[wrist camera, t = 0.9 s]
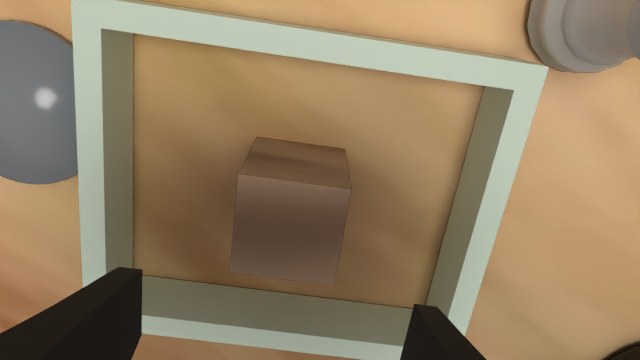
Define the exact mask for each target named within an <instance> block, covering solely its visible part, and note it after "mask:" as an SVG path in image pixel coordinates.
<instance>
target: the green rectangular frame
mask: <svg viewBox="0 0 640 360" xmlns="http://www.w3.org/2000/svg"><path fill="white" fill-rule="evenodd" d="M71 13H72V38H73V62H74V86H75V111H76V135H77V159H78V184H79V208H80V232H81V256H82V281H83V288H84V287H85V286H87V285H89V284H90V283H92V282H94V281H95V280H97V279H98V278H100V277H102V276H103V275H105V274H107V273H108V272H110V271H112V270H114V269H116V268H117V267H125V268H133V33H136V34H143V35H149V36H156V37H163V38H169V39H176V40H183V41H189V42H196V43H203V44H209V45H216V46H223V47H229V48H236V49H243V50H249V51H256V52H263V53H269V54H276V55H283V56H289V57H296V58H303V59H309V60H316V61H322V62H329V63H336V64H342V65H349V66H356V67H362V68H369V69H376V70H382V71H389V72H396V73H402V74H409V75H416V76H422V77H429V78H436V79H442V80H449V81H456V82H462V83H469V84H476V85H482V86H485V87H484V90H483V94H482V98H481V102H480V105H479V109H478V113H477V116H476V120H475V124H474V128H473V131H472V135H471V139H470V142H469V146H468V150H467V153H466V157H465V161H464V165H463V168H462V172H461V176H460V179H459V183H458V187H457V191H456V194H455V198H454V202H453V205H452V209H451V213H450V217H449V220H448V224H447V228H446V231H445V235H444V239H443V243H442V246H441V250H440V254H439V257H438V261H437V265H436V268H435V272H434V276H433V280H432V283H431V287H430V291H429V294H428V298H427V302H426V305H428V306H436V307H438V308H439V309H440V310H441V311H442V312H443V314H444V315H445V316H446V317H447V318H448V319H449V320H450V321H451V322H452V323H453V324H454V325H455V327H456V328H457V329H458V330H459V331H460V332H461V333H462V334H463V335H464V336H465V334H466V330H467V327H468V324H469V321H470V318H471V314H472V311H473V308H474V305H475V302H476V299H477V295H478V292H479V289H480V286H481V283H482V279H483V276H484V273H485V270H486V267H487V263H488V260H489V257H490V254H491V251H492V248H493V244H494V241H495V238H496V235H497V232H498V228H499V225H500V222H501V219H502V216H503V212H504V209H505V206H506V203H507V200H508V197H509V193H510V190H511V187H512V184H513V181H514V177H515V174H516V171H517V168H518V165H519V162H520V158H521V155H522V152H523V149H524V146H525V142H526V139H527V136H528V133H529V130H530V126H531V123H532V120H533V117H534V114H535V111H536V107H537V104H538V101H539V98H540V95H541V91H542V88H543V85H544V82H545V79H546V75H547V72H548V69H549V67H548V66H544V65H540V64H536V63H532V62H528V61H524V60H521V59H517V58H510V57H504V56H497V55H491V54H484V53H478V52H471V51H465V50H458V49H452V48H445V47H439V46H432V45H426V44H419V43H413V42H406V41H400V40H393V39H387V38H380V37H374V36H367V35H361V34H354V33H348V32H341V31H335V30H328V29H322V28H315V27H309V26H302V25H296V24H289V23H283V22H276V21H270V20H263V19H257V18H250V17H244V16H237V15H231V14H224V13H218V12H211V11H205V10H198V9H192V8H185V7H179V6H172V5H166V4H159V3H153V2H146V1H140V0H71ZM412 311H413V309H408V308H400V307H392V306H384V305H376V304H368V303H360V302H352V301H344V300H336V299H328V298H320V297H312V296H304V295H296V294H288V293H280V292H272V291H264V290H256V289H248V288H240V287H232V286H224V285H216V284H208V283H200V282H192V281H184V280H176V279H168V278H160V277H152V276H144V275H142V333H143V334H151V335H159V336H168V337H176V338H185V339H193V340H202V341H210V342H218V343H227V344H235V345H244V346H252V347H260V348H269V349H277V350H286V351H294V352H303V353H311V354H319V355H328V356H336V357H345V358H353V359H362V360H400V357H401V353H402V349H403V346H404V342H405V338H406V334H407V330H408V326H409V322H410V319H411V315H412Z"/></svg>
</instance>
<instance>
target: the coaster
mask: <svg viewBox="0 0 640 360" xmlns="http://www.w3.org/2000/svg"><path fill="white" fill-rule="evenodd" d="M77 173H78V159H77V135H76V111H75V86H74V62H73V44H72V43H71V42H69V41H68V40H67V39H65V38H64V37H62V36H61V35H59V34H57V33H56V32H54V31H52V30H50V29H47V28H45V27H42V26H40V25H37V24H33V23H29V22H24V21H13V20H9V21H0V176H2V177H5V178H7V179H10V180H13V181H17V182H22V183H27V184H50V183H56V182H59V181H62V180H66V179H68V178H70V177H72V176H74V175H76V174H77Z"/></svg>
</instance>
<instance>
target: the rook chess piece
mask: <svg viewBox="0 0 640 360" xmlns="http://www.w3.org/2000/svg"><path fill="white" fill-rule="evenodd" d="M527 28H528V33H529V37H530V42H531V47H532V48H533V49H534V51H535V52H536V53H537V55H538V56H539V57H540V59H541V60H542V61H543V63H545V64H547V65H549V66H551V67H553V68H555V69H557V70H559V71H561V72H572V73H597V72H600V71H603V70H606V69H609V68H611V67H614V66H617V65H620V64H621V63H623V62H624V61H625V60H627V59H630V58H632V57H637V58H638V59H639V60H640V0H532V2H531V6H530V12H529V18H528V23H527Z"/></svg>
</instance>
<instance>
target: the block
mask: <svg viewBox="0 0 640 360" xmlns="http://www.w3.org/2000/svg"><path fill="white" fill-rule="evenodd" d="M350 195H351V184H350V178H349V172H348V165H347V159H346V153H345V149H340V148H333V147H326V146H319V145H312V144H305V143H298V142H291V141H284V140H277V139H270V138H263V137H257V138H256V140H255V142H254V144H253V146H252V148H251V150H250V152H249V154H248V156H247V158H246V160H245V162H244V164H243V166H242V168H241V170H240V172H239V174H238V183H237V195H236V206H235V217H234V228H233V239H232V251H231V262H230V273H238V274H246V275H254V276H262V277H270V278H278V279H285V280H293V281H301V282H309V283H317V284H325V285H333V286H334V282H335V277H336V271H337V266H338V260H339V255H340V250H341V244H342V239H343V233H344V228H345V222H346V217H347V212H348V206H349V201H350Z"/></svg>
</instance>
